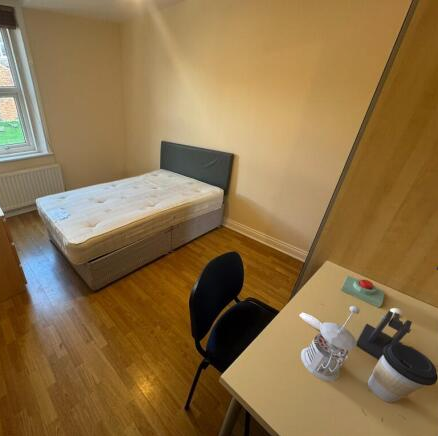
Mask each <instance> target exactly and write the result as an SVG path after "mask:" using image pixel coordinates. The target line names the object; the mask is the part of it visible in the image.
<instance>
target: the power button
mask: <svg viewBox="0 0 438 436" xmlns="http://www.w3.org/2000/svg"><path fill="white" fill-rule="evenodd" d="M373 285H374V283H373V282H372V281H370V280H367V279H361V282H360V286H362V287H363V288H365V289H371V288H372V287H373Z"/></svg>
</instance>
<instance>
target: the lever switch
mask: <svg viewBox="0 0 438 436" xmlns="http://www.w3.org/2000/svg"><path fill="white" fill-rule="evenodd" d="M389 311H391V312H393V315H392V317H391V320H390V321H389V323H388V324H387V325H388V327H389V328H391V329H393V330H395V331H396V332H397V331H399V329H400V328H401V327H402V325H403V324H404V321H403V320H400V319H403V318H404V316H405V314H404V311H403V310H401V309H400V308H397V307H394V308H393V307H392V308H390V310H389Z"/></svg>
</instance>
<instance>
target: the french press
mask: <svg viewBox="0 0 438 436" xmlns="http://www.w3.org/2000/svg"><path fill="white" fill-rule="evenodd" d="M349 311H350V312H351V313H350V315H349V316H348V318H347V319H346V321H345V323H344V324H343V325H339V324H338V323H334V322H329V321H328V322H322V323H323V324H321V326H320V330H319V331H320V333H318V334H317V335H315V336H314V338H313V339H312V342H311V343H310V344H309V346H308V347H305V348H303V349H302V350H301V353H300V359H301V362H302V364H303V365H304V367H305V369H307V370H308V372H310V374H312V375H313V376H315V377H316V378H318V379H320V380H323V381H326V382H335V381H337V380H338V379H339V377H340V373H341V372H340V368H341V366H343V364H344V362H345V361H346V360H347V359H348V353H349V351H353V350H355V349H356V348H357V346H356V345H357V340H356V338H355V336H354V335H353V334H352V333H351V332H350V331H349V330H348V329H346V328H345V326H346V325H347V323H348V322H349V320H350V319H351V317H352V316H353V314H355V315H357V314H360V308H359V307H357V306H355V305H351V306H350V307H349Z"/></svg>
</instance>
